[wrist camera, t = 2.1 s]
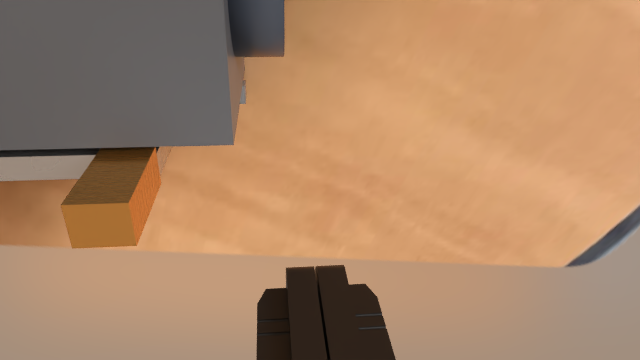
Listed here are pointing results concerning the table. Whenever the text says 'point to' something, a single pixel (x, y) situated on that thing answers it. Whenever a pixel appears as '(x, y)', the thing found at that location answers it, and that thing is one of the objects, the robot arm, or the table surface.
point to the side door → (96, 188)
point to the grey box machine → (128, 70)
